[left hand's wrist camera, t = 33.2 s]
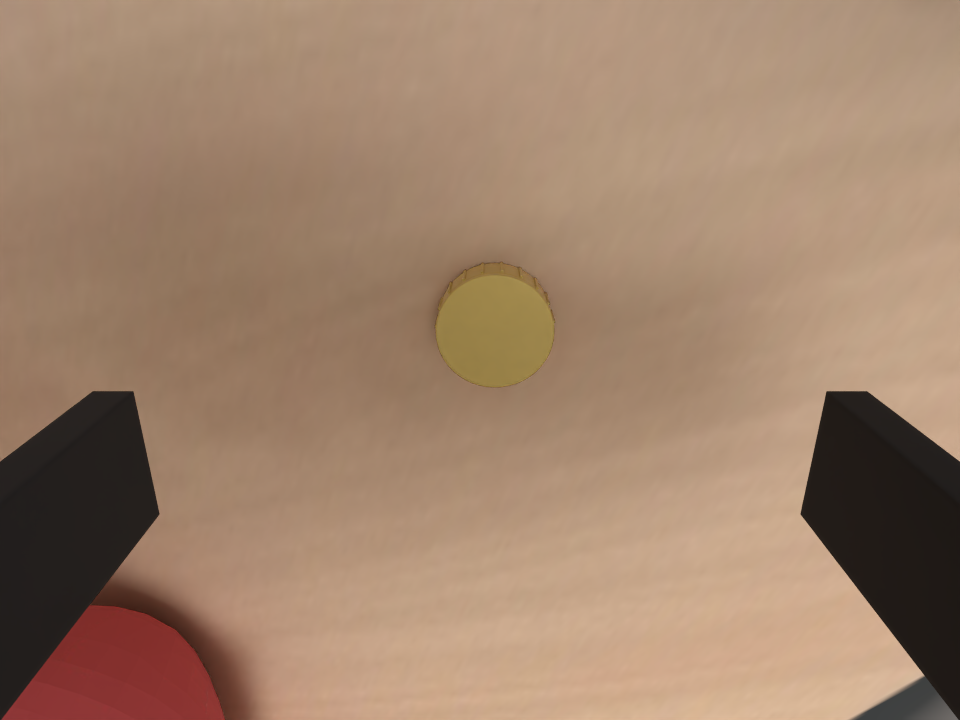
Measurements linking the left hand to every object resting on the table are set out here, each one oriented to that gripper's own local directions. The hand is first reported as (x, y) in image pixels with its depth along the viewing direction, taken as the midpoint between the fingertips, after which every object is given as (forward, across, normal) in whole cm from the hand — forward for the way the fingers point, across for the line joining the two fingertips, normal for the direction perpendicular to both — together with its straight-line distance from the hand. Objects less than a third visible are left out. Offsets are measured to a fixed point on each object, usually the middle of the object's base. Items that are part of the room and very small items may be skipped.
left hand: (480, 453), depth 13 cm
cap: (+9, 0, 0) cm, 9 cm away
